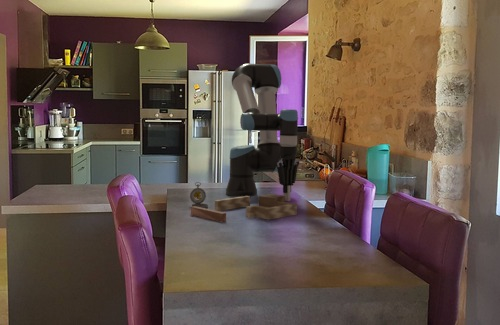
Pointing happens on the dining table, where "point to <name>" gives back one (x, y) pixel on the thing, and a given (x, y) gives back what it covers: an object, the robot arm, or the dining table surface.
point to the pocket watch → (198, 196)
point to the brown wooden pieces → (251, 211)
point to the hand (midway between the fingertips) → (286, 200)
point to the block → (270, 200)
